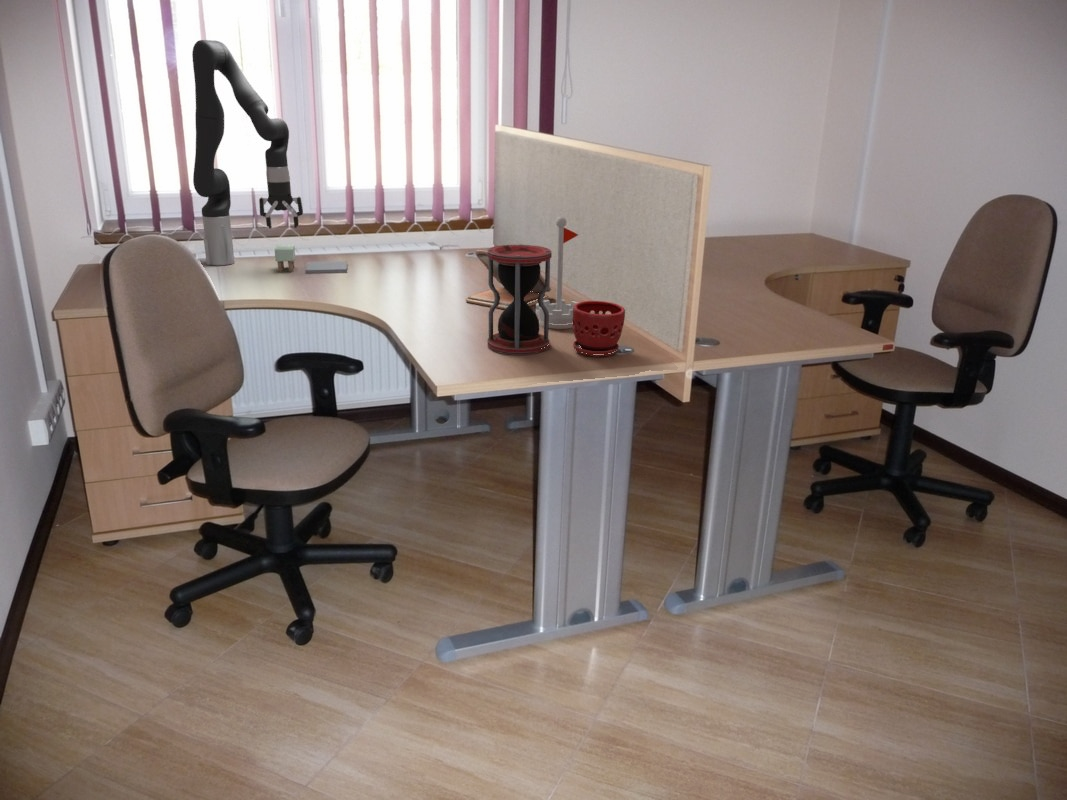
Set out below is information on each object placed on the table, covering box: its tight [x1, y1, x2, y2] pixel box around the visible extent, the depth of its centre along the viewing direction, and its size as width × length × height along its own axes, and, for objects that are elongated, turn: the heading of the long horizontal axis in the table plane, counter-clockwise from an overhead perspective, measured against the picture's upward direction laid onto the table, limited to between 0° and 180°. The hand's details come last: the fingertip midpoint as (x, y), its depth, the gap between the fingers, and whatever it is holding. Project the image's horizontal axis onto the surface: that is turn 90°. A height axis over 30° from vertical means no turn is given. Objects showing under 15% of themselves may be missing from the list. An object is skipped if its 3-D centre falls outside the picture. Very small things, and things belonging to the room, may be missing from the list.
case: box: [465, 249, 552, 311], centre depth 265 cm, size 20×21×16 cm
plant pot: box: [572, 300, 626, 358], centre depth 217 cm, size 13×13×12 cm
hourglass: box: [486, 243, 553, 356], centre depth 218 cm, size 16×16×25 cm
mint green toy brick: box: [274, 244, 296, 273], centre depth 302 cm, size 6×9×8 cm, turn 11°
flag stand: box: [535, 216, 579, 330], centre depth 238 cm, size 13×13×30 cm
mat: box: [304, 260, 348, 275], centre depth 306 cm, size 14×14×1 cm
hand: (283, 227), depth 298 cm, fingers open, 8 cm apart
